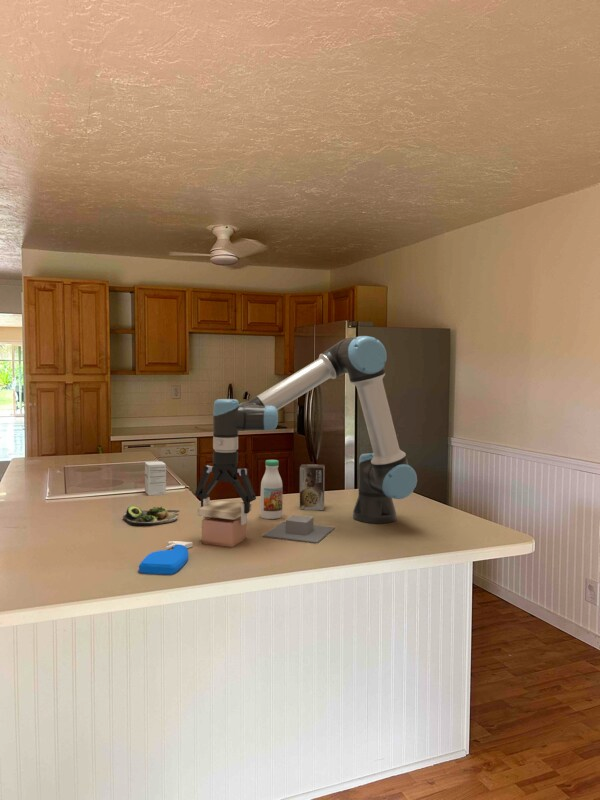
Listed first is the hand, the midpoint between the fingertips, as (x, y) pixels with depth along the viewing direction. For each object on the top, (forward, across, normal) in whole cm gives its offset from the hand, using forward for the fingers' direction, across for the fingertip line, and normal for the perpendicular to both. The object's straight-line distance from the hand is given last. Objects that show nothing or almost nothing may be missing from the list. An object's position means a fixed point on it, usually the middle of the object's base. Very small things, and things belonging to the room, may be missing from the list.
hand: (224, 521), depth 182 cm
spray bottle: (+6, -6, -21) cm, 23 cm away
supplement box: (+6, -56, +48) cm, 74 cm away
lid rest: (+6, +18, +17) cm, 25 cm away
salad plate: (+6, -35, +12) cm, 38 cm away
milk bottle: (+6, +2, +32) cm, 33 cm away
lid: (-3, 0, 0) cm, 3 cm away
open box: (+6, 0, 0) cm, 6 cm away
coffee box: (+6, +11, +50) cm, 52 cm away
